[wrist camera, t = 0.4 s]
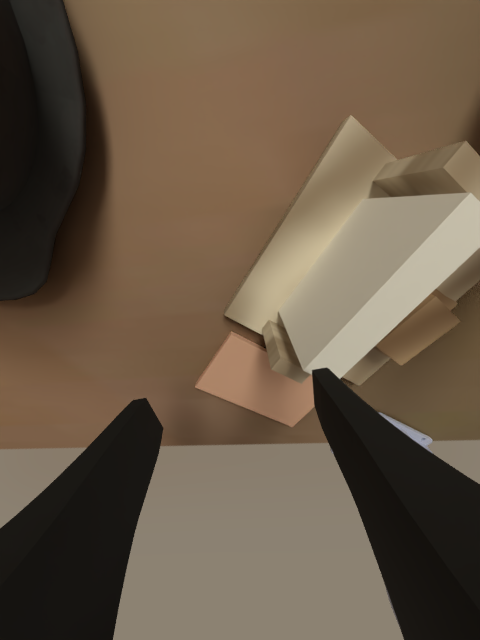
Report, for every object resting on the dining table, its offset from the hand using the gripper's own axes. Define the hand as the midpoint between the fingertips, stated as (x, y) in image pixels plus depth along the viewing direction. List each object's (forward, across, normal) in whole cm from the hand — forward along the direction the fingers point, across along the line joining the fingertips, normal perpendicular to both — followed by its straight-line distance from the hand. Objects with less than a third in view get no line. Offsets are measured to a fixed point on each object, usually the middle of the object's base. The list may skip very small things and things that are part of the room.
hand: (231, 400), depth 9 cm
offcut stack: (+9, -13, +3) cm, 16 cm away
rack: (+10, -10, 0) cm, 14 cm away
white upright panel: (+9, -7, -2) cm, 12 cm away
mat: (+10, -1, +9) cm, 13 cm away
